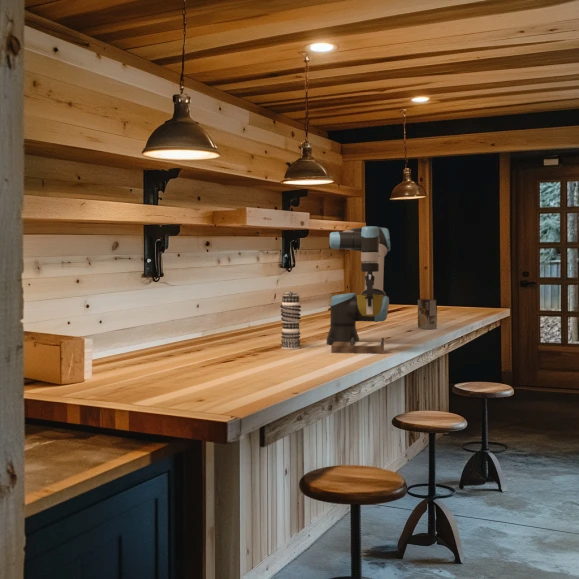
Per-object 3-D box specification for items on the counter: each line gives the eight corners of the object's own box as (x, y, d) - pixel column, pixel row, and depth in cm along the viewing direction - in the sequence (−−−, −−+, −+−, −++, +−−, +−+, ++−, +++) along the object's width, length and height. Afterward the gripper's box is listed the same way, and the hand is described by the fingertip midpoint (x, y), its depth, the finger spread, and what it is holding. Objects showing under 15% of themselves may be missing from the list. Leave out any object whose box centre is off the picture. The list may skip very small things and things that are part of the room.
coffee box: (437, 328, 406) (437, 299, 405) (429, 329, 402) (429, 300, 401) (424, 327, 413) (425, 298, 412) (417, 328, 409) (417, 299, 408)
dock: (331, 352, 314) (331, 341, 313) (333, 348, 328) (333, 337, 327) (383, 353, 311) (383, 341, 310) (383, 349, 325) (384, 337, 324)
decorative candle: (288, 350, 322) (288, 292, 320) (276, 347, 329) (276, 291, 328) (305, 348, 327) (305, 292, 326) (292, 346, 335) (292, 291, 333)
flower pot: (373, 317, 313) (373, 296, 312) (355, 316, 318) (355, 295, 317) (383, 315, 320) (383, 295, 319) (366, 314, 325) (366, 294, 324)
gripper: (378, 262, 305) (378, 315, 306) (378, 262, 329) (378, 311, 330) (360, 262, 306) (360, 315, 307) (361, 262, 330) (361, 311, 331)
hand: (369, 313), depth 319 cm, fingers closed on flower pot, 11 cm apart
